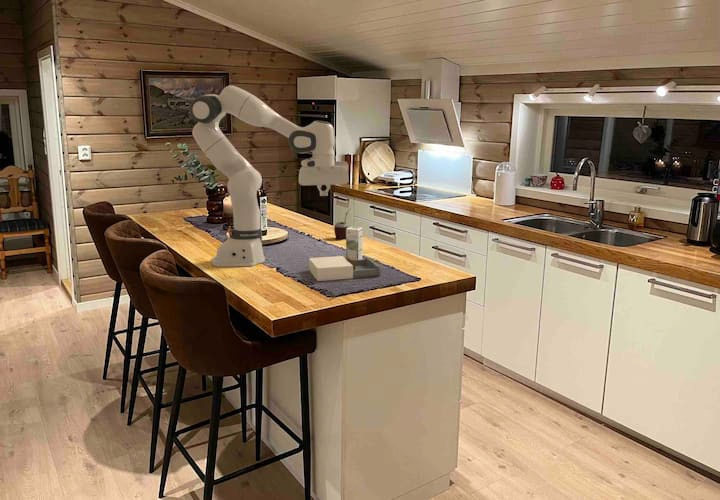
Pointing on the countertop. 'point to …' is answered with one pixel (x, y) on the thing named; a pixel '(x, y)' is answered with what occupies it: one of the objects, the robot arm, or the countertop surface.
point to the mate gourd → (341, 229)
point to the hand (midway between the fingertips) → (323, 195)
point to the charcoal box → (366, 268)
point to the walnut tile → (351, 261)
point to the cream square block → (330, 268)
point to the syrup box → (354, 242)
